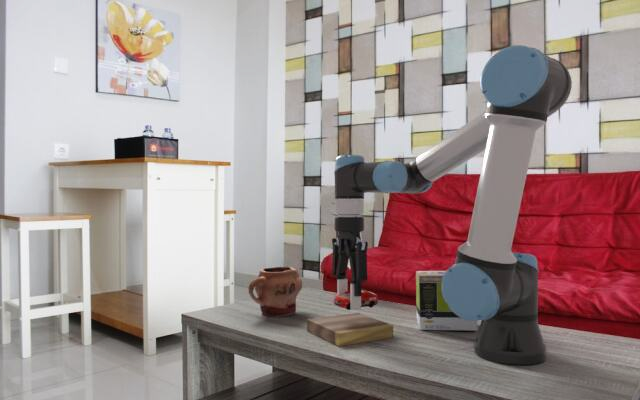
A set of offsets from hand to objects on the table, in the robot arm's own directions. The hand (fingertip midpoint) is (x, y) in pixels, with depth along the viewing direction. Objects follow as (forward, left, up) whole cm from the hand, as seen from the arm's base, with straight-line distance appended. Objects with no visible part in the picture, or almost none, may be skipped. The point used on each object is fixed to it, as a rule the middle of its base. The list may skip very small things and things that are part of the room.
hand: (348, 306), depth 131 cm
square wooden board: (0, 0, -7) cm, 7 cm away
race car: (-1, +1, -3) cm, 3 cm away
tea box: (-6, -27, -7) cm, 29 cm away
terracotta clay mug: (+28, +8, -7) cm, 30 cm away
